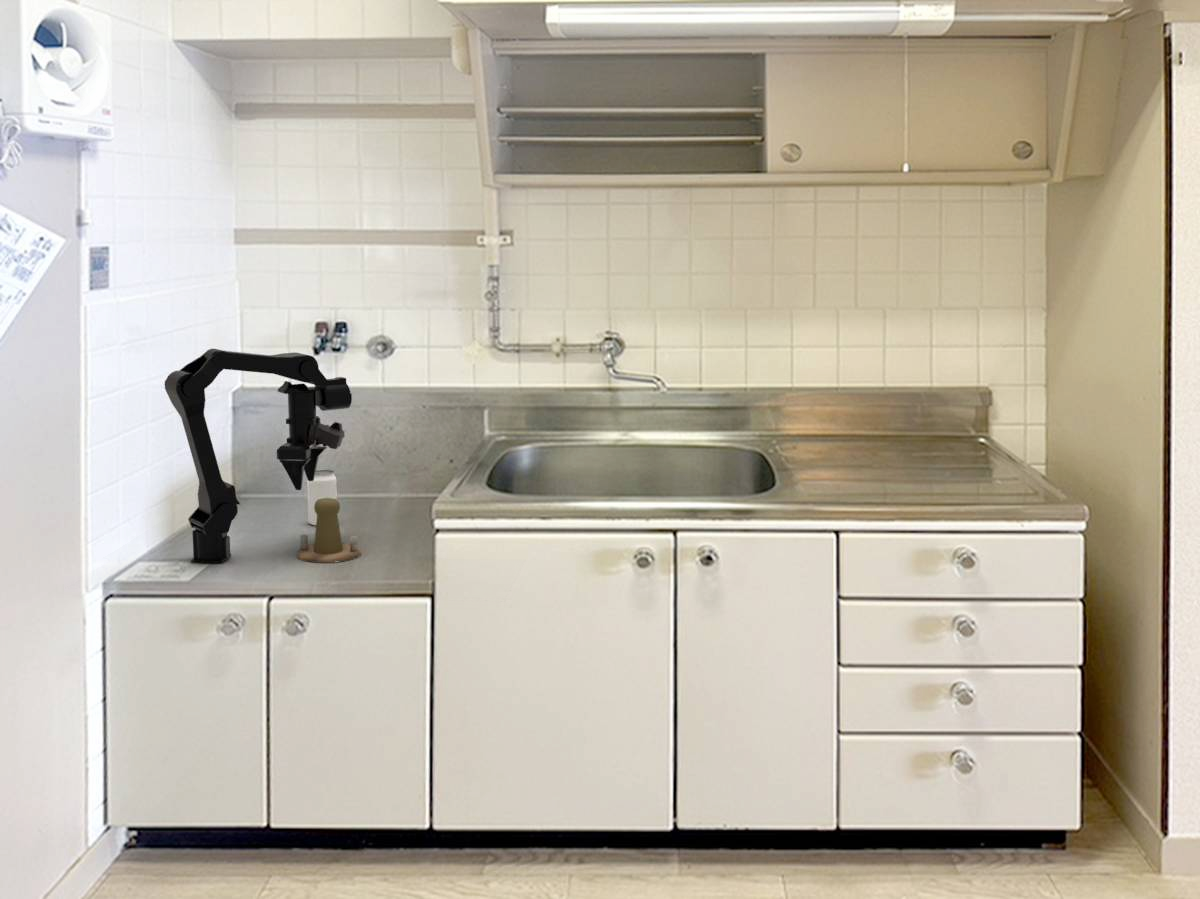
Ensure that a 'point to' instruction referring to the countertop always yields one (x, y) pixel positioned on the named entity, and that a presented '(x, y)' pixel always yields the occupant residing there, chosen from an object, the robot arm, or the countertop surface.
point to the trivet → (308, 554)
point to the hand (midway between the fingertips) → (304, 485)
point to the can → (320, 491)
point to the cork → (327, 527)
